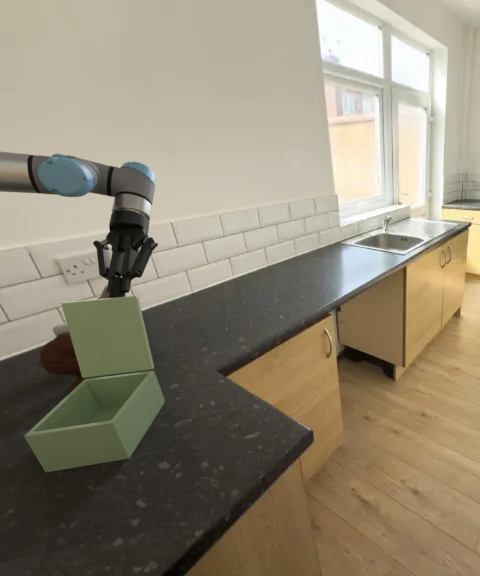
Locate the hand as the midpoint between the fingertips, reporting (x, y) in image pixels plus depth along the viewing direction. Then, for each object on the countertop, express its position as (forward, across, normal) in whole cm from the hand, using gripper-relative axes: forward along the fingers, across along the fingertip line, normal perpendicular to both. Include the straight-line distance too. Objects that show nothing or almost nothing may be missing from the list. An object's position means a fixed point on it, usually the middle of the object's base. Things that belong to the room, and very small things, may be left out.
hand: (115, 305), depth 70 cm
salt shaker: (+6, +23, -27) cm, 36 cm away
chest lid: (+7, 0, 0) cm, 7 cm away
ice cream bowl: (+12, +17, -20) cm, 29 cm away
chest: (+26, 0, -6) cm, 27 cm away
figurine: (+1, +17, -32) cm, 36 cm away
